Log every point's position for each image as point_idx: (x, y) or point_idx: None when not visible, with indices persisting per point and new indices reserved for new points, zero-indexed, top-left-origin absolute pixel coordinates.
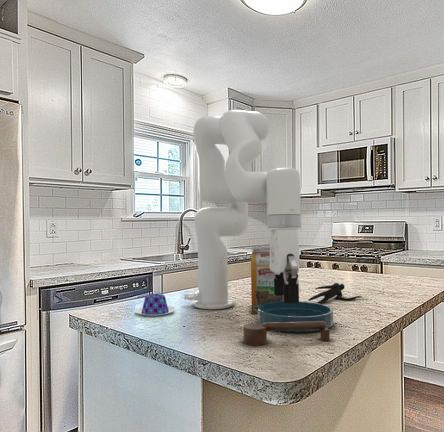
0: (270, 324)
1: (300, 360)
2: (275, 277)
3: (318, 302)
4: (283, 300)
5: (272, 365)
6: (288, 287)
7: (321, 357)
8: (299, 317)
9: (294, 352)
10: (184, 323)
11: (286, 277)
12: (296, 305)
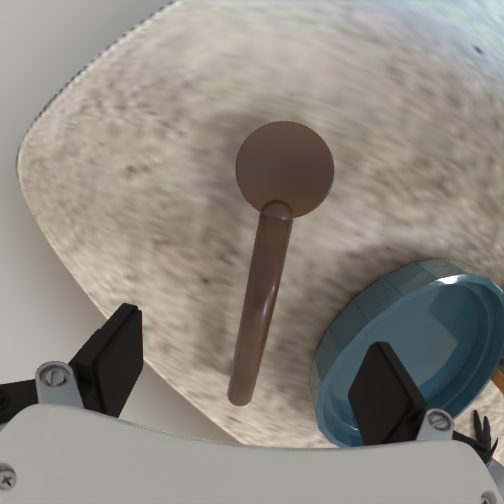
0: (261, 232)
1: (96, 239)
2: (423, 417)
3: (477, 427)
4: (500, 371)
5: (79, 159)
6: (68, 364)
7: (111, 296)
8: (328, 369)
9: (152, 251)
10: (498, 65)
11: (39, 403)
12: (469, 392)
